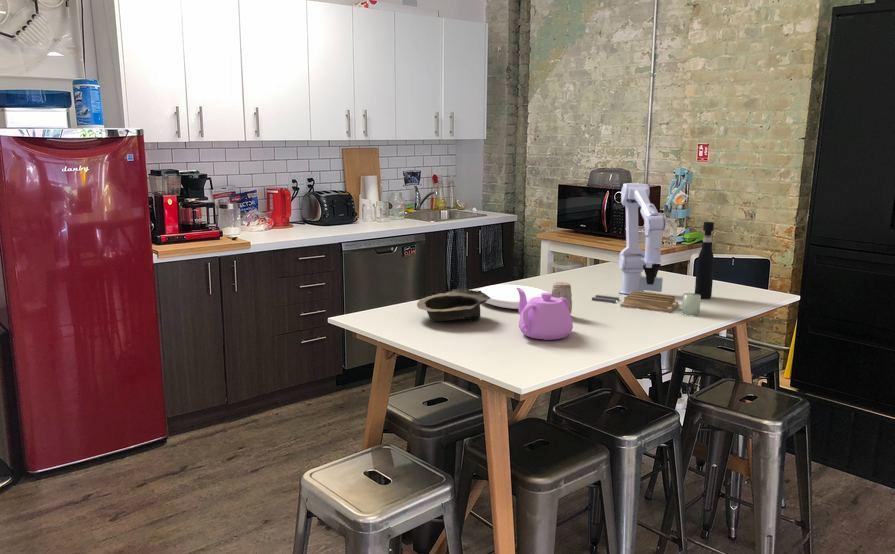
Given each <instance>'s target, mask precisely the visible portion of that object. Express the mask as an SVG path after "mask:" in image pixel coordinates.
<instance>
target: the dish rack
mask: <svg viewBox="0 0 895 554" xmlns="http://www.w3.org/2000/svg"><path fill="white" fill-rule="evenodd" d="M623 300H624V301H622V302H621V303H620V305H619V306H621V307H620V308H628V307H630V308H629V309H636V308H639V309H638V310H644V309H647V311H652V310H654V311H653V312H660V311H662V313H668V312H669V313H670V312H672V311H673V310H674V309H675V308H676V307H677V306H678V305H679V301H677V300H676V295H672V294H664V293H655V292H654V293H653V292H648V291H643V292H639V291H633V293H630V294H626V296H624V298H623ZM677 304H678V305H677ZM676 305H677V306H676ZM675 306H676V307H675ZM674 307H675V308H674ZM673 308H674V309H673ZM672 309H673V310H672Z"/></svg>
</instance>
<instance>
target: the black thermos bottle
mask: <svg viewBox="0 0 895 554" xmlns="http://www.w3.org/2000/svg"><path fill="white" fill-rule="evenodd" d="M702 227H703V228H702V231H703V232H704V234H703V235H704V236H703V240H702V242H701V249H700V252H699V254H698V256H697V257H698V258H697V261H696V272H695V274H696V275H695V283H694V284H695V286H694V293H695V294H699V295H701V299H700V300H710V298H711V299H712V291H713V280H714V268H715V257H714V252H713V249H712V248H713V242H712V241H713V237H712V232H714V229H715V228H714V227H715V222H713V221H703V225H702Z"/></svg>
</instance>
